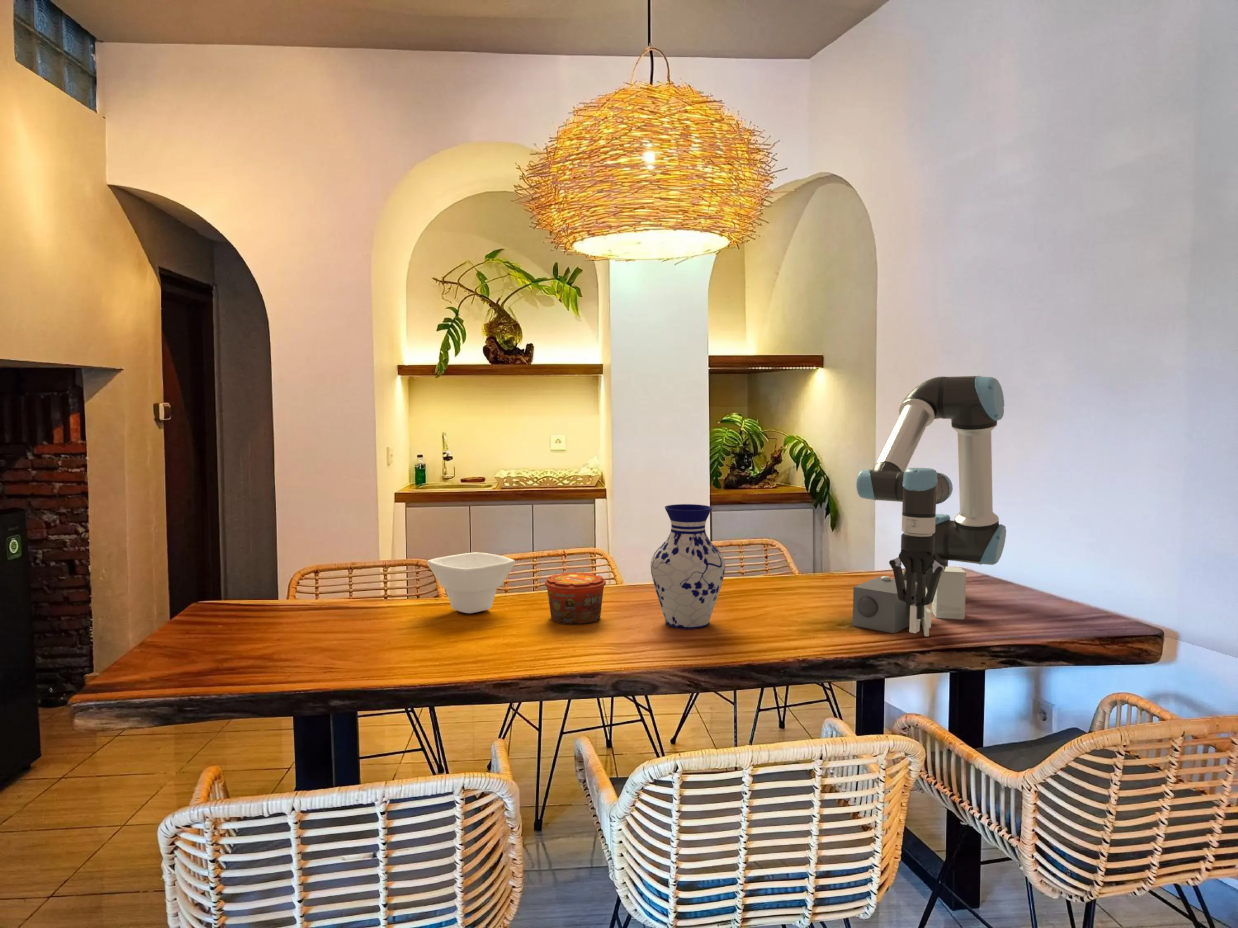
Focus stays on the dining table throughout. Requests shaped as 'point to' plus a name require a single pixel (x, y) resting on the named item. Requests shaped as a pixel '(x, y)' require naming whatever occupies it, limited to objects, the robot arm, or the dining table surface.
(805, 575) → the dining table surface
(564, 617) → the food container
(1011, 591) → the dining table surface
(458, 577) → the bowl
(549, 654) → the dining table surface
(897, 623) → the camera box
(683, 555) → the vase
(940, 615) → the supplement box
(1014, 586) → the dining table surface
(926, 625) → the side door
